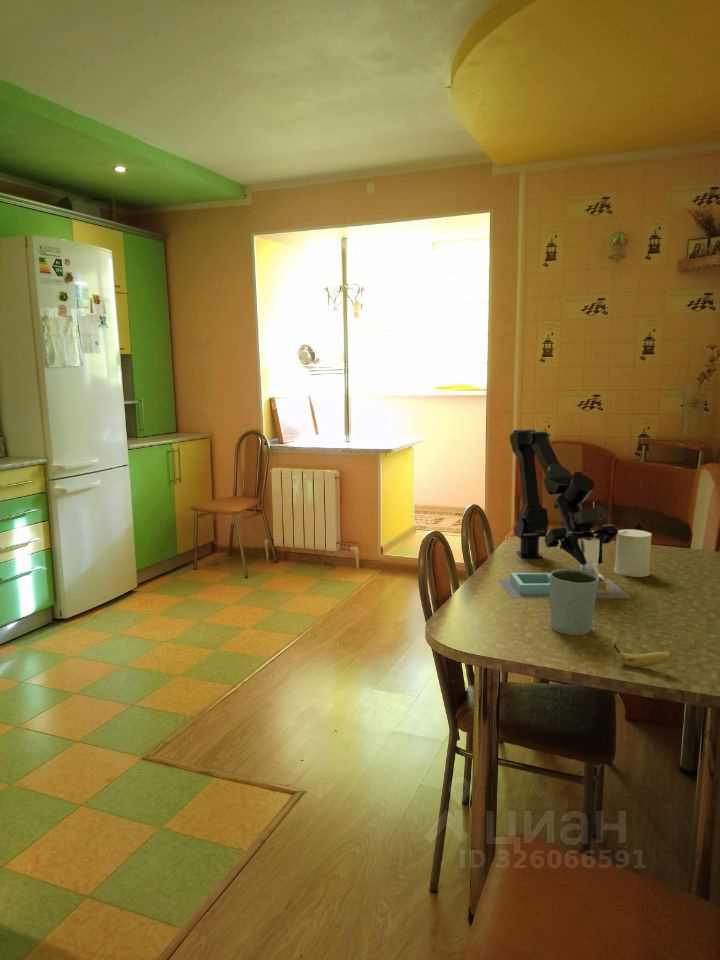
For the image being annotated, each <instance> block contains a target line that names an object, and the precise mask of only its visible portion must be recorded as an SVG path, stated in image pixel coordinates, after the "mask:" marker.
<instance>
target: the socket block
mask: <svg viewBox="0 0 720 960" xmlns="http://www.w3.org/2000/svg"><path fill="white" fill-rule="evenodd" d="M598 578H599V582H598V588H597V593H611V583H610V582H609V581H608V580H607V579H605V578H606V577H604V576H603V575H602V574H601V573H599V572H598Z"/></svg>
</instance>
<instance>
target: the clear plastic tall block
mask: <svg viewBox="0 0 720 960" xmlns="http://www.w3.org/2000/svg"><path fill="white" fill-rule="evenodd" d="M599 545H600V539H598V538H595V537H583V538H582V539H581V545H580V549H581V552H582V554H583V556H584V559H585V565H582V564H581V563H580V566H579V567H580V569H579V570H581V571H586V572H589V573H592V574H594V575H596V576H597V577H598V573H599V565H600V564H599Z"/></svg>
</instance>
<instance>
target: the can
mask: <svg viewBox="0 0 720 960" xmlns="http://www.w3.org/2000/svg"><path fill="white" fill-rule="evenodd" d="M617 530H618V529H617ZM618 532H619V533H618V534H617V535H616V543H615V544H616V546H615V549H616V550H615V564H614V572H615V573H616V574H618V575H621V576H627V577H633V578H636V577H637V578H639V577H642V578H643V577H647V576H648V577H649V576H650V565H651V563H650V562H651V545H652V535H653V534H652V532H648V531H645V530H639V529H629V528H627V529H619V530H618Z"/></svg>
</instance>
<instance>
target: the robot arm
mask: <svg viewBox="0 0 720 960" xmlns="http://www.w3.org/2000/svg"><path fill="white" fill-rule="evenodd" d="M509 442H510V445H511V450H512V452H513V454H514V456H515V457H517V459H518V464H519V465H518V467H519V475H520V476H519V478H520V485H521V494H522V507H521V509H520V511H519V513H518V521H517V522H516V524H515V526H514V527H513V535H514V537H517V538H518V539H520V540H519V541H520V543H519V550H517V551H516V554H517V555H518V556H519V557H520V558H521V559H530V558H531V559H533V558H534V559H535V558H536V559H537V558H540V559H541V558H543V555H542V554H541V553H540V538H542V537H544V543H545V546H546V547H547V548H557V547H558V545H559V544H560V545H559V550H563V551H565V552H566V553H568V554H569V555H570V556H572V557H573V558H574V559H575V560H576V562H578V563H579V564H580V565H581V564H582V565H585V559H584V556H583V554H582V552H581V546H580V544H579V540H582V538H583V537H595V538H598V539H600V545H599V565H601V564H602V563H603V545H604V544H609V543H611V542H612V541H613V540H614V538H616V537H617V534H618V533H619V532H618V528H617V526H616V525H615V524H601V525H600V526H599V527H598V528H597V530H591V529H593V528H594V527H595V523H597V522H598V523H599V522H601V520H603V519H605V518H606V515H605V514H606V513H605V510H604V509H603V507H602V506H594V507H593V508H592V509H588V508H587V509H583V508H582V506H581V504H582V503H584V502H585V500H586V499H588V497H589V496H590V494H591V493H592V491H593V490H594V488H595V482H594V481H593V480H592V478H590V477H589V476H587V475H585V474H583V472H582V471H574V473H573V474H572V473H571V471H570V470H569V469H567V468H566V467H564V466H562V464H561V462H560V461H559V459H558V457H557V454H556V453H555V451H554V449H553V447H552V445H551V443H550V441H549V436H548V433H547V432H545V431H536V430H535V429H534V428H533V429H515V430H513V432H511V433H510V436H509ZM536 458H537V460H538V462H539V464H540V466H541V468H542V471H543V473H544V479H543V484H544V489H545V491H546V493H547V494H548V495H550V496H558V497H557V498H555V502H554V504H553V508H554V510H555V509H558V511H559V513H560V516H561V519H562V520H561V522H560V524H561V526H562V527H551V529H550V530H549V526H550V525H549V524H550V523H549V517H548V510H547V508H546V507H543V506H542V504H541V502H540V496H539V495H540V493H539V486H538V476H537V467H536ZM548 530H549V532H548Z"/></svg>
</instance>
